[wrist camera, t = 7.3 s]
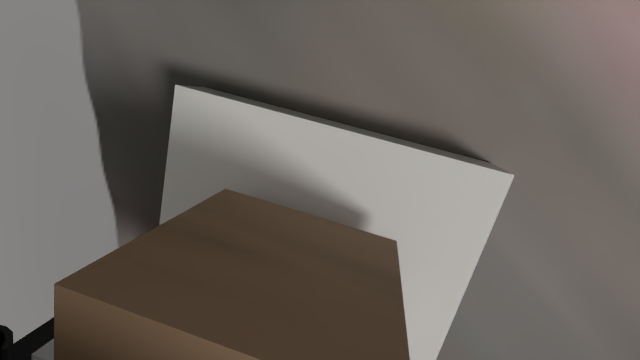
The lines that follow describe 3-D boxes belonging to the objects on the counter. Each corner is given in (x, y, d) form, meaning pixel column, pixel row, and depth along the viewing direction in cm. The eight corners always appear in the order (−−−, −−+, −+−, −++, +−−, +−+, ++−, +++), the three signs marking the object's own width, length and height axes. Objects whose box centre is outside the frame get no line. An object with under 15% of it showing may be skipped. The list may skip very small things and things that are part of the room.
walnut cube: (347, 381, 14) (316, 642, 7) (201, 328, 15) (51, 518, 8) (396, 240, 12) (416, 416, 5) (225, 188, 13) (54, 283, 6)
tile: (397, 398, 18) (400, 443, 16) (174, 317, 20) (145, 347, 17) (492, 163, 14) (514, 175, 12) (206, 87, 16) (175, 84, 13)
